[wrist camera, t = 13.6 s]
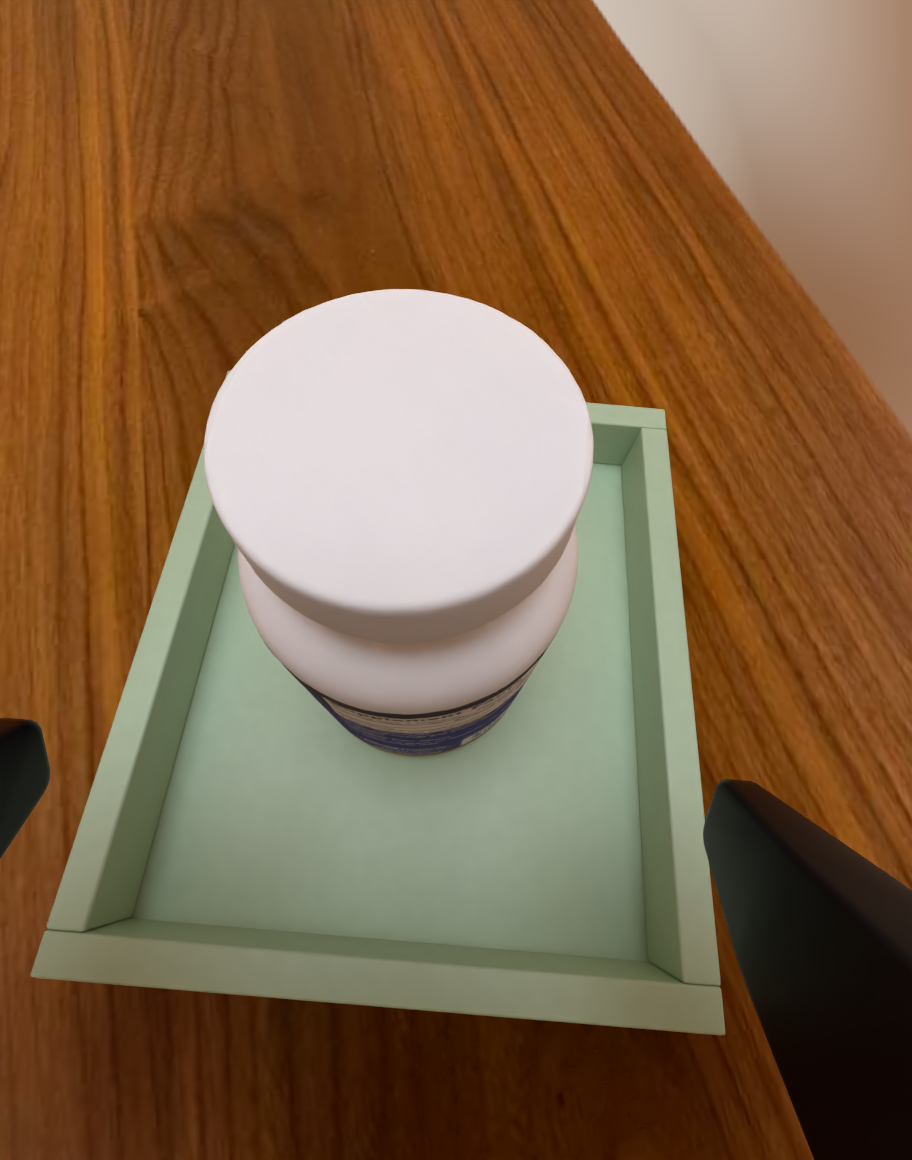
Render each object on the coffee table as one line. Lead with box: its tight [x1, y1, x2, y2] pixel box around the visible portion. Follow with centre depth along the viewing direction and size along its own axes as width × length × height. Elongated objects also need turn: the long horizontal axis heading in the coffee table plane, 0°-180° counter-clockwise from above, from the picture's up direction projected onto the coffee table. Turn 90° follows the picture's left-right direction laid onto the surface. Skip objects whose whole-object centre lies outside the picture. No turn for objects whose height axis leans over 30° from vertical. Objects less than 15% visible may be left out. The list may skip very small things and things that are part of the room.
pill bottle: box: [204, 289, 594, 757], centre depth 11 cm, size 6×6×10 cm
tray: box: [30, 371, 725, 1035], centre depth 15 cm, size 16×14×2 cm
